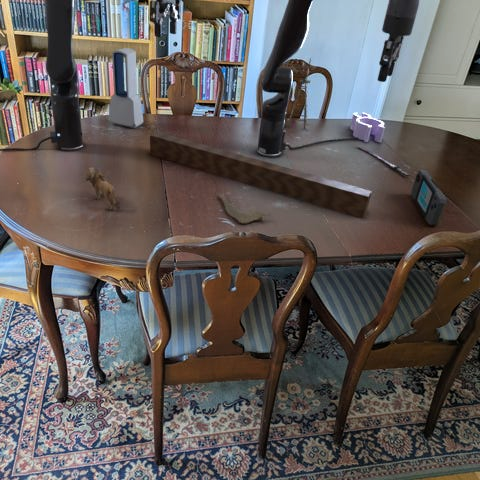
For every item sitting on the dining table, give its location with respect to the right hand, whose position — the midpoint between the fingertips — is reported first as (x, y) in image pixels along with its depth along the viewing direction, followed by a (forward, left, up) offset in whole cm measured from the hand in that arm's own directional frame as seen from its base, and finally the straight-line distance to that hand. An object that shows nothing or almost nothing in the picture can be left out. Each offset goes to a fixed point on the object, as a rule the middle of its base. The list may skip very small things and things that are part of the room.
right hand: (384, 78), depth 128 cm
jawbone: (+32, -16, -42) cm, 55 cm away
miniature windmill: (-36, -72, -42) cm, 91 cm away
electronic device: (+36, -98, -42) cm, 113 cm away
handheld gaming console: (-24, +10, -42) cm, 49 cm away
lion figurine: (+68, -38, -42) cm, 89 cm away
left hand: (+36, -62, 0) cm, 72 cm away
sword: (-42, -25, -42) cm, 65 cm away
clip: (-60, -51, -42) cm, 89 cm away
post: (+18, -31, -42) cm, 55 cm away
